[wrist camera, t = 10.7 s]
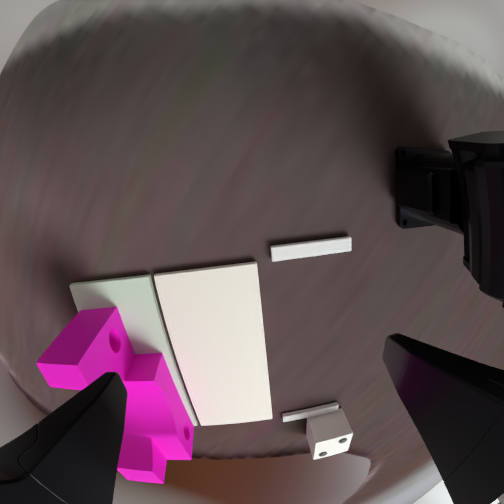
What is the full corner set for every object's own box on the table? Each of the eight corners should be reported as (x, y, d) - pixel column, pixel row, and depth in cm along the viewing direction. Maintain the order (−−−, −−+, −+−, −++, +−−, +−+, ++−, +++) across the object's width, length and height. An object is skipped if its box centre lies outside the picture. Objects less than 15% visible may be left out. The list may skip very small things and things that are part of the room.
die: (341, 407, 25) (353, 433, 21) (337, 426, 27) (347, 451, 23) (306, 415, 25) (316, 443, 21) (305, 434, 26) (313, 460, 22)
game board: (348, 236, 20) (351, 237, 19) (336, 407, 25) (337, 410, 25) (68, 271, 18) (65, 273, 18) (137, 426, 24) (136, 429, 23)
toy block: (193, 426, 24) (190, 484, 16) (140, 426, 23) (127, 479, 16) (145, 303, 19) (112, 366, 12) (80, 310, 19) (35, 362, 12)
